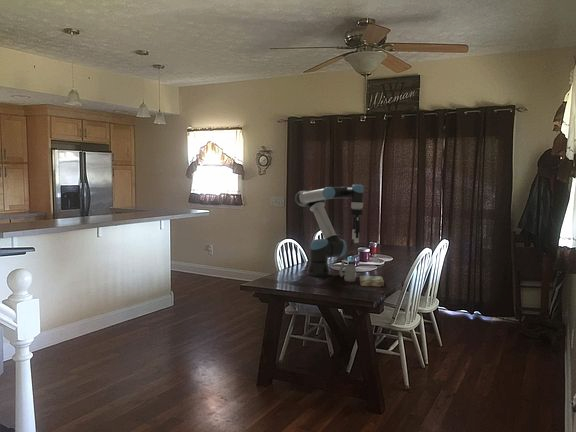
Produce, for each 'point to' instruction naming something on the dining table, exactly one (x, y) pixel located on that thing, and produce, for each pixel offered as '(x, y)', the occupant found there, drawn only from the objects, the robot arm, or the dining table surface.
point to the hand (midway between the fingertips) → (355, 241)
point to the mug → (348, 272)
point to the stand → (371, 281)
